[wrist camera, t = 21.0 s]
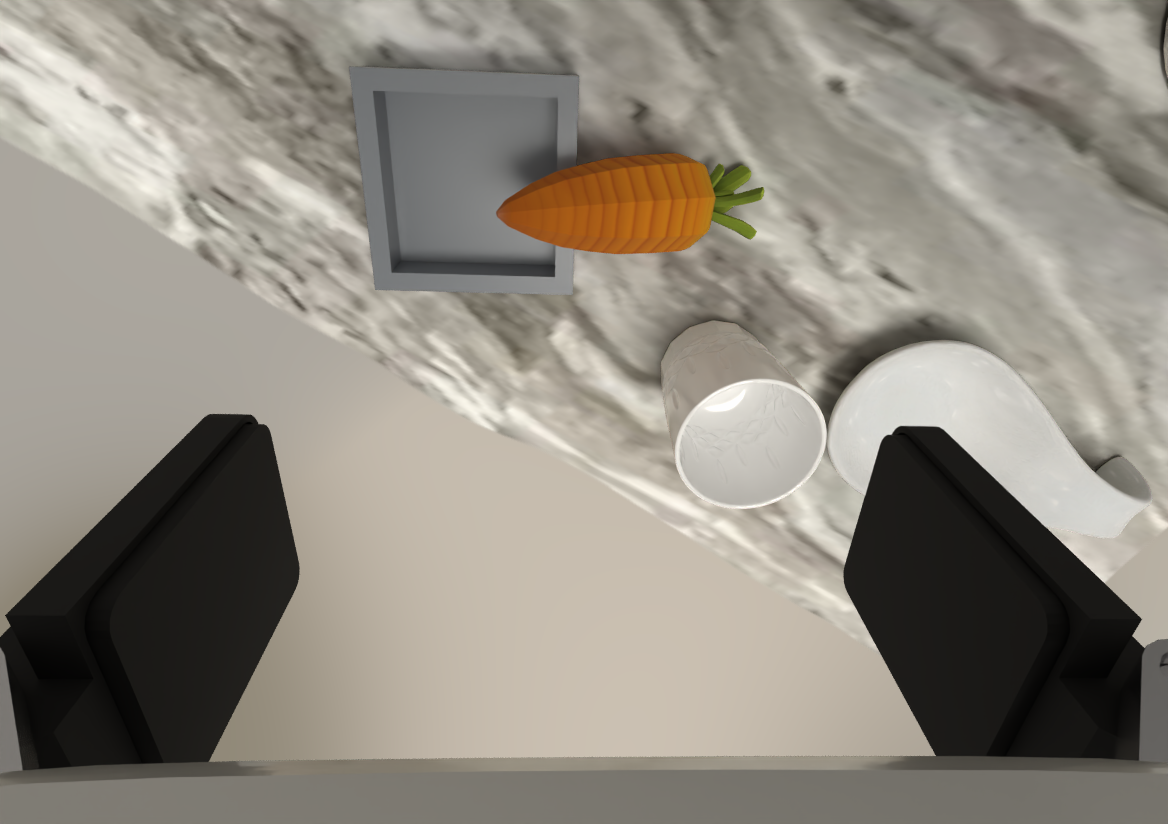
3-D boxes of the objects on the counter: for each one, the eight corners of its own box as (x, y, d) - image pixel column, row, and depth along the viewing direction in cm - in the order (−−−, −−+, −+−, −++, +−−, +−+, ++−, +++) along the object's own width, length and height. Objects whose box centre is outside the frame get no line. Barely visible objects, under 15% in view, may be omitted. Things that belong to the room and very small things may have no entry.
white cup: (629, 348, 42) (648, 425, 33) (742, 287, 40) (794, 351, 31) (683, 439, 45) (713, 531, 36) (789, 386, 43) (847, 469, 35)
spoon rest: (781, 446, 46) (816, 507, 40) (873, 295, 41) (930, 337, 35) (1047, 536, 51) (1117, 603, 44) (1160, 410, 46) (1256, 466, 39)
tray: (577, 74, 34) (579, 75, 32) (571, 279, 39) (572, 294, 37) (365, 66, 34) (349, 66, 31) (387, 274, 39) (375, 289, 36)
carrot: (505, 289, 31) (754, 262, 37) (522, 206, 28) (797, 190, 33) (476, 220, 34) (714, 204, 40) (487, 133, 30) (750, 131, 36)
